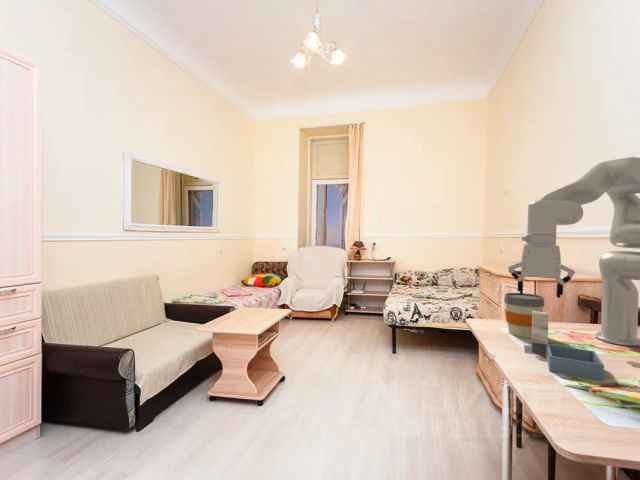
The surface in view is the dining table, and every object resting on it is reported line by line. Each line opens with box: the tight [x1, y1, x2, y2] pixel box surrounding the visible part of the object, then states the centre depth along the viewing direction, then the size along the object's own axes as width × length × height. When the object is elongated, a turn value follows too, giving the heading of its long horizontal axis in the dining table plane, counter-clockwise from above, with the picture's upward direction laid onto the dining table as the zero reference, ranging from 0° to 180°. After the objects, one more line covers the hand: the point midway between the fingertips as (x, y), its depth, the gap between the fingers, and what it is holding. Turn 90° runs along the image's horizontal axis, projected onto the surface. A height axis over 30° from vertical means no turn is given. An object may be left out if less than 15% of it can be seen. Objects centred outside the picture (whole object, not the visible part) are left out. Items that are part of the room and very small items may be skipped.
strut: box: [531, 311, 549, 354], centre depth 104 cm, size 4×4×12 cm
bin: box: [545, 343, 605, 382], centre depth 91 cm, size 11×11×5 cm
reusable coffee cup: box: [503, 292, 545, 339], centre depth 122 cm, size 12×13×15 cm
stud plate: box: [523, 344, 546, 357], centre depth 104 cm, size 8×8×4 cm
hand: (539, 295), depth 104 cm, fingers open, 9 cm apart
